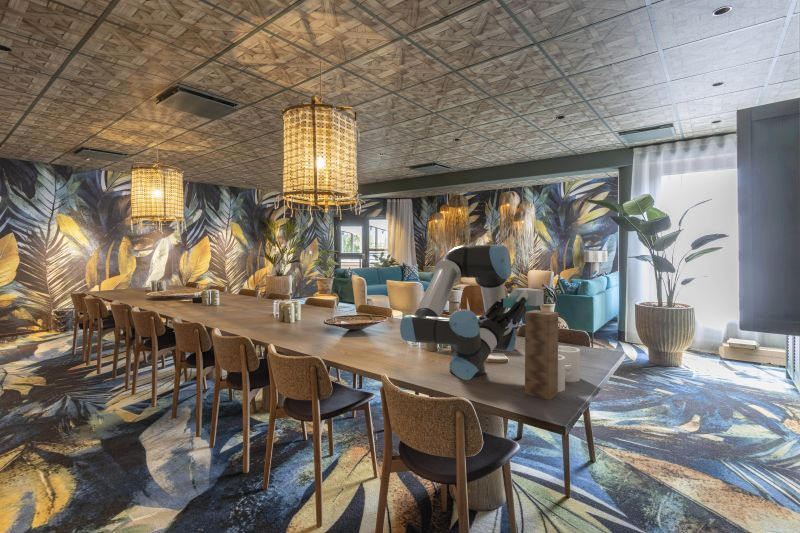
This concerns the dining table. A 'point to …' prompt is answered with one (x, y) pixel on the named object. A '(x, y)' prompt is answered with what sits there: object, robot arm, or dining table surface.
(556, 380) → the tall wooden pillar
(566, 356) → the white double cylinder
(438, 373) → the dining table surface
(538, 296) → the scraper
